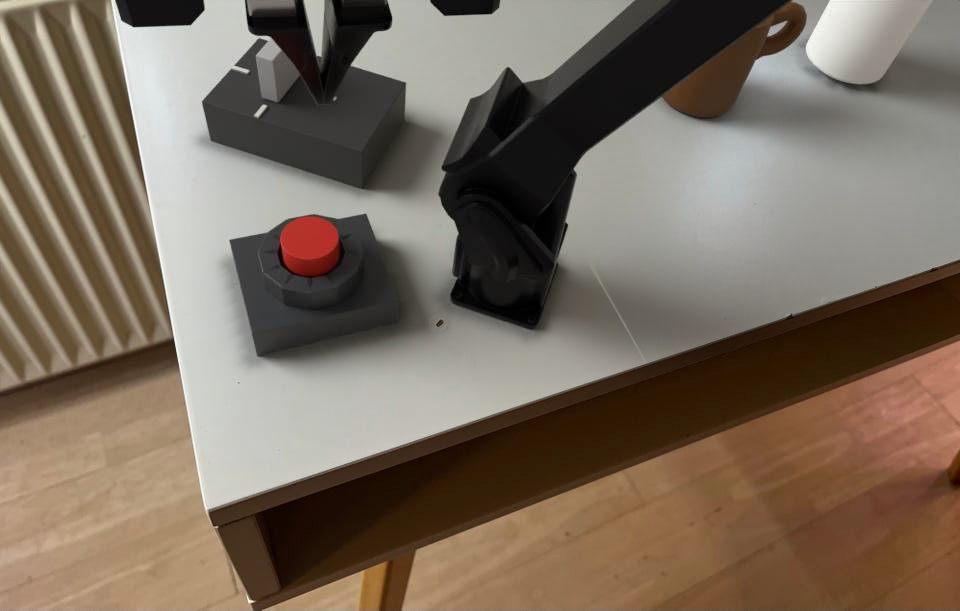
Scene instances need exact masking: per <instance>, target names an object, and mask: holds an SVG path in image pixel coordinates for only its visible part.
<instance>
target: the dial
mask: <svg viewBox="0 0 960 611" xmlns="http://www.w3.org/2000/svg"><path fill="white" fill-rule="evenodd" d="M267 41H268V42H267V43H266V44H265V46H264V47H263V48H262V49H261V50H260V51H259V52H258V54H257V55H256V61H257V68H258V75H259V81H260V88H261V95H262V98H264V99H268V100H271V101H274V102H277V103H278V102H279V101H280V100H281V99H282V97H283V96H284V95H285V94H286V92H287V91H288V90H289V89H290V87H291V86H292V85H293V83H294V82H295V81H296V80H297V78H298V77H299V76H300V74H299V73H298V71H297V69H296V68H295V66H294V65H293V63H292V62H291V61H290V60H289V59H288V57H287V56H286V55H285V54H284V53H283V51H282V50H281V49H280V48H279V47H278V46H277V44H276V43H275V42H274V41H273V40H272V38H271V37H270V39H268V40H267Z"/></svg>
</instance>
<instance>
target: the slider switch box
mask: <svg viewBox="0 0 960 611" xmlns="http://www.w3.org/2000/svg"><path fill="white" fill-rule="evenodd" d="M268 41H269V40H267V39H264V38H261V37H259V38H257V39H256V41H255V42H254V43H253V44H252V45H251V46H250V47H249V48H248V49H247V50H246V51H245V53H244V54H242V56H241V57H240V58H239V59H238V61H237V62H236V63H234V64H233V65H232V66H231V68H230V70H228V71H227V72H226V73H225V75H224V76H223V77H222V78H221V79H220V80H219V81H218V82H217V84H216V85H215V86H214V87H213V88H212V89H211V91H209V93H207V95H206V96H205V97H204V98H203V99H202V100H201V104H202V109H203V113H204V117H205V122H206V126H207V127H206V128H207V131H208V135H209V139H210V141H211V142H213V143H215V144H219V145H222V146H225V147H229V148H231V149H234V150H236V151H241V152H244V153H247V154H251V155H254V156H256V157H260V158H263V159H266V160H270V161H272V162H276V163H278V164H281V165H285V166H287V167H288V166H289V167H290V168H294V169H297V170H300V171H303V172H306V173H310V174H313V175H316V176H319V177H323V178H326V179H329V180H331V181H335V182H338V183H342V184H344V185H348V186H351V187H354V188H357V189H360V190H363V189H364V188H365V186H366V185H367V183H368V182H369V180H370V178H371V176H372V175H373V174H374V172H375V170H376V168H377V167H378V165H379V163H380V162H381V160H382V158H383V157H384V155H385V154H386V152H387V151H388V149H389V147H390V146H391V144H392V142H393V141H394V139H395V137H397V134H398V133H399V131H400V130H401V128H402V126H403V124H404V123H405V121H406V120H405V119H406V100H407V99H406V98H407V97H406V96H407V95H406V94H407V82H406V81H402V80H400V79H396V78H392V77H389V76H386V75H382V74H379V73H376V72H373V71H369V70H367V69H363V68H360V67H356V66H353V65H351V66H350V68H349V70H348V71H347V73H346V75H345V77H344V79H343V81H342V83H341V85H340V87H339V89H338V91H337V93H336V95H335V97H334V99H333V101H332V103H331V104H327V105H325V104H324V105H317V103H316V102H315V100H314V98H313V96H312V95H311V93H310V91H309V90H308V88H307V86H306V84H305V83H304V81H303V79H302V78H301V76H299V77H298V78H297V80H296V81H295V82H294V83H293V85H292V86H291V87H290V89H289V90H288V91H287V92H286V94H285V95H284V96H283V97H282V99H281V100H280V101H279V102H278V103H277V102H274V101H271V100H268V99H264V98H262V95H261V88H260V81H259V75H258V68H257V61H256V55H257V54H258V52H259V51H260V50H261V49H262V48H263V47H264V46H265V44H266V43H267V42H268ZM317 59H318V64H319V68H320V73H321V56H320V55H317Z"/></svg>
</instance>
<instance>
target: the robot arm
mask: <svg viewBox="0 0 960 611" xmlns="http://www.w3.org/2000/svg"><path fill="white" fill-rule="evenodd" d="M114 1H115V5H116V8H117V11H118V14H119V18H120V21H121V22H123V23H124V24H126V25H128V26H130V27H132V28H157V27H158V28H159V27H181V26H183V27H184V26H192V25H193V24H194V23H195V22H196V21H197V19H198V18H199V17H200V16H201V15H202V14H203V13H204V12H205V11H206V8H205V7H206V6H205V0H114ZM323 1H324V3H323V6H324V7H323V23H322V24H323V25H322V40H321V41H322V42H321V54H320V55H321V56H320V57H321V73H320V68H319V64H318V59H317V56H318V55H317V51H316V46H315V42H314V39H313V34H312V30H311V25H310V21H309V17H308V12H307V7H306V3H305V0H244V6H245V7H244V8H245V16H246V26H247V30H248V32H249V33H250V34H251V35H254V36H256V37H269V38H270V39H271V38H272V40H273V41H274V42H275V43H276V44H277V46H278V47H279V48H280V49H281V50H282V51H283V53H284V54H285V55H286V56H287V57H288V59H289V60H290V61H291V62H292V63H293V65H294V66H295V68H296V69H297V71H298V73H299V74H300V76H301V78H302V79H303V81H304V83H305V84H306V86H307V88H308V90H309V91H310V93H311V95H312V96H313V98H314V100H315V102H316V103H317V105H324V104H325V105H327V104H331V103H332V101H333V99H334V97H335V95H336V93H337V91H338V89H339V87H340V85H341V83H342V81H343V79H344V77H345V75H346V73H347V71H348V70H349V68H350V66H352V64H353V63H354V61H355V59H356V58H357V57H358V55H359V54H360V53H361V51H362V50H363V48H365V46H366V44H367V43H368V42H369V41H370V39H371V38H372V36H373V35H374V34H375V33H377V32H386V31H388V30H390V29H391V28H392V26H393V15H392V12H391V7H390V4H389V1H388V0H323ZM429 2H430V4H431V5H432V6H433V7H434V8H435V9H436V10H438V11H439V13H440V14H442V15H443V16H444V17H453V16H482V15H483V16H485V15H493V14H494V13H495V12H496V11H497V10H498V9H500V6H501V0H429ZM790 2H794V0H633V1H632V2H631V3H630V4H629V5H628V6H626V8H624V9H623V10H622V11H621V12H620V13H619V14H618V15H616V16H615V17H614V18H613V19H612V20H611V21H609V22H608V23H607V24H606V25H604V27H603V28H602V29H600V31H598V32H597V33H596V34H595V35H594V36H593V37H592V38H590V39H589V40H587V42H586V43H584V44H583V45H582V46H581V47H580V48H579V49H578V50H577V51H575V53H574V54H572V55H571V56H570V57H569V58H568V59H567V60H565V61H564V63H562V64H561V65H560V66H559V67H558V68H556V69H555V70H554V71H553V72H551V74H549V75H547V76H545V77H543V78H538V79H535V80H530V81H525V82H523V81H522V80H521V78H520V77H519V76H518V75H517V74H516V72H515V71H513V69H512V68H511V67H509V66H506V67H505V68H504V69H503V71H501V73H500V75H499V76H498V77H497V79H496V80H495V81H494V83H493V85H492V86H491V87H490V88H489V89H487V90H486V91H485V92H484V93H482V94H480V95H477V96H474V97H471V98H470V99H469V100H468V103H467V105H466V107H465V109H464V112H463V115H462V117H461V120H460V122H459V124H458V127H457V129H456V131H455V134H454V136H453V138H452V141H451V143H450V145H449V147H448V150H447V152H446V155H445V157H444V160H443V162H442V165H441V167H440V169H441V171H443V172H445V174H444V176H443V178H442V181H441V183H440V186H439V189H438V193H437V195H438V197H439V199H440V204H441V207H442V208H443V210H444V211H445V214H447V216H448V217H449V218H450V219H451V220H452V221H453V222H454V225H455V228H456V231H457V236H456V240H455V247H454V255H453V260H452V268H451V274H452V276H453V277H454V278H456V280H455V283H454V285H453V287H452V289H451V290H450V294H449V301H450V302H451V303H452V304H454V305H456V306H458V307H462V308H464V309H469V310H471V311H474V312H478V313H479V314H480V313H481V314H483V315H487V316H489V317H492V318H496V319H498V320H501V321H505V322H508V323H510V324H513V325H517V326H520V327H522V328H524V329H525V328H526V329H528V330H535V329H537V328H538V326H539V323H540V321H541V317H542V316H543V312H544V308H545V306H546V303H547V300H548V297H549V294H550V292H551V288H552V285H553V282H554V279H555V276H556V273H557V271H558V268H559V262H558V261H559V257H560V254H561V250H562V247H563V244H564V242H565V238H566V235H567V232H568V228H569V224H568V222H567V217H568V215H569V214H568V213H569V210H570V206H571V201H572V197H573V194H574V190H575V186H576V183H577V182H576V181H577V177H578V174H577V171H576V170H575V168H576V166H577V165H578V163H580V162H579V161H581V159H582V158H583V157H584V156H585V155H586V153H587V152H588V151H591V149H593V148H594V147H596V146H597V145H598V144H599V143H601V142H602V141H603V140H605V139H606V138H608V137H609V136H610V135H612V134H613V133H615V132H616V131H618V130H619V129H620V128H621V127H623V126H624V125H626V124H627V123H628V122H629V121H630V120H632V119H633V118H635V117H636V116H637V115H640V113H642V112H643V111H644V110H646V109H647V108H649V107H650V106H652V105H653V104H654V103H655V102H656V101H658V100H660V99H661V98H662V96H663V95H665V94H666V93H667V92H669V91H670V90H671V89H673V88H674V87H676V86H677V85H678V84H680V83H681V82H682V81H684V80H685V79H686V78H688V77H689V76H691V75H692V74H693V73H695V72H696V71H697V70H699V69H700V68H701V67H703V66H704V65H705V64H707V63H708V62H710V61H711V60H712V59H714V58H715V57H716V56H718V55H719V54H720V53H722V52H723V51H725V50H726V49H727V48H729V47H730V46H731V45H733V44H734V43H735V42H737V41H738V40H739V39H741V38H742V37H744V36H745V35H746V34H748V33H749V32H750V31H752V30H753V29H754V28H756V27H757V26H759V25H760V24H761V23H763V22H764V21H765V20H767V19H768V18H769V17H771V16H772V15H773V14H775V13H776V12H778V11H779V10H780V9H782V8H783V7H784V6H786V5H787V4H788V3H790ZM457 297H458V298H457ZM530 321H532V322H530Z"/></svg>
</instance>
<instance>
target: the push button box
mask: <svg viewBox="0 0 960 611" xmlns="http://www.w3.org/2000/svg"><path fill="white" fill-rule="evenodd" d="M302 217H319V218H322V219H325V220H327V221H329V222H330V223H331V224H333V225H334V227H335V228H336V229H337V231H338V235H339V249H340V258H339V261H338V263H337V265H336V266H335V267H334V268H333V269H332V270H331V271H329V272H327V273H326V274H323V275H320V276H315V277H306V276H301V275H298V274H296V273H294V272H292V271H291V270H290V269H289V268H288V267H287V266H286V265H285V263H284V260H283V254H282V247H281V241H280V238H281V233H282V231H283V229H284V228H285V227H286V226H287V225H288V224H289V223H290V222H292V221H294V220H296V219H299V218H302ZM228 241H229V245H230V250H231V254H232V258H233V262H234V266H235V271H236V275H237V279H238V283H239V287H240V291H241V295H242V299H243V305H244V308H245V312H246V316H247V320H248V324H249V328H250V334H251V337H252V341H253V345H254V350H255V353H256V357H262V356H266V355H269V354H273V353H278V352H282V351H286V350H290V349H295V348H299V347H303V346H307V345H308V346H309V345H312V344H315V343H320V342H324V341H328V340H332V339H337V338H340V337H345V336H349V335H352V334H353V335H354V334H357V333H361V332H366V331H370V330H374V329H378V328H383V327H386V326H390V325H394V324H395V325H396V324H398V323H399V321H400V320H399V319H400V298H399V295H398V293H397V290H396V287H395V284H394V283H393V280H392V277H391V274H390V271H389V269H388V267H387V264H386V262H385V259H384V256H383V253H382V251H381V248H380V246H379V243H378V240H377V238H376V235H375V233H374V230H373V227H372V225H371V222H370V220H369V216H368V214H367V213H360V214H356V215H352V216H346V217H340V218H337V217H332V216H325V215H320V214H316V213H311V214H306V215H301V216H294V217H290V218H287V219H285V220H283V221H281V222H280V223H279V224H277V225H276V226H275V227H273V228H272V229H269V231H267V232H262V233H257V234H251V235H247V236H242V237H236V238H231V239H229V240H228Z"/></svg>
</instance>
